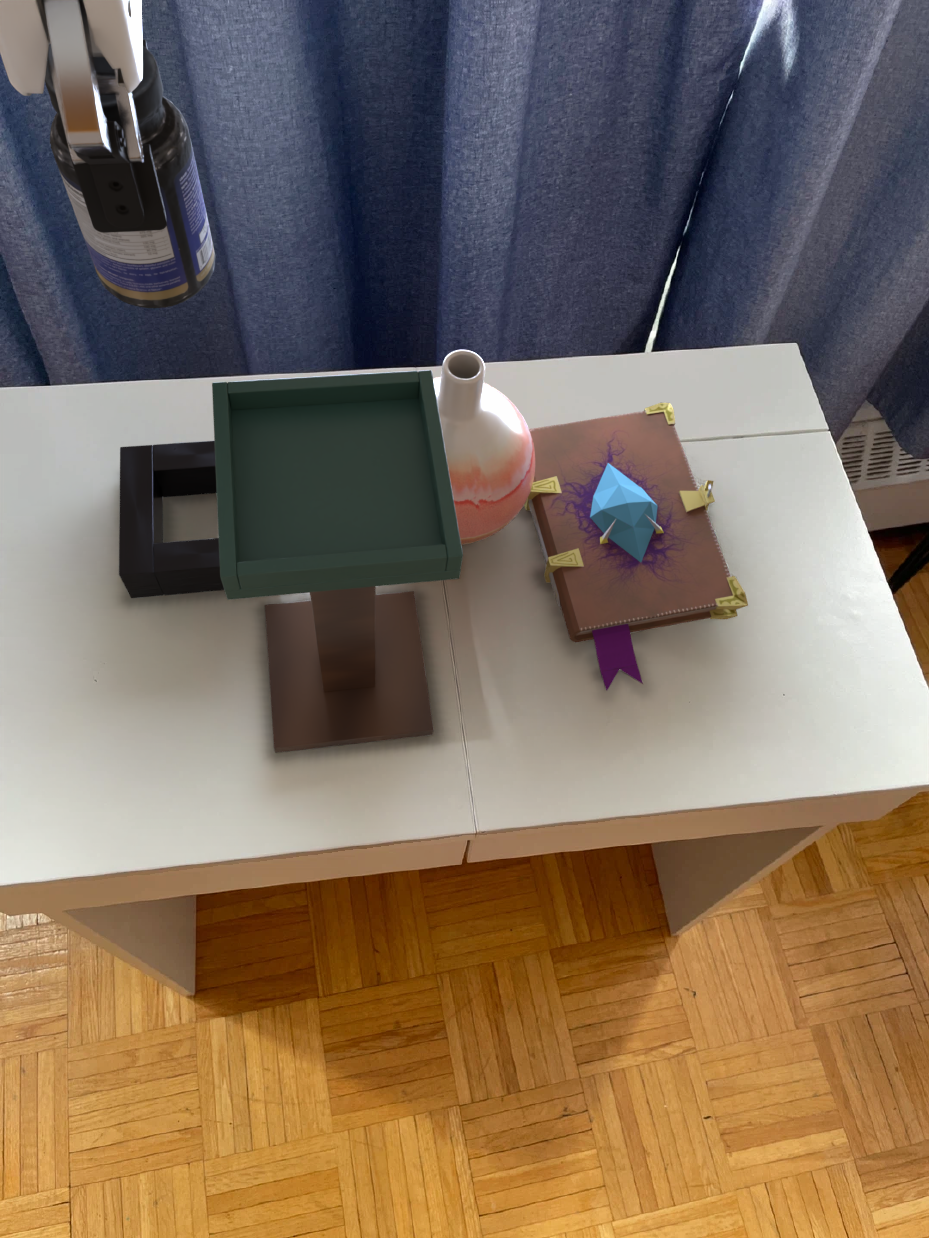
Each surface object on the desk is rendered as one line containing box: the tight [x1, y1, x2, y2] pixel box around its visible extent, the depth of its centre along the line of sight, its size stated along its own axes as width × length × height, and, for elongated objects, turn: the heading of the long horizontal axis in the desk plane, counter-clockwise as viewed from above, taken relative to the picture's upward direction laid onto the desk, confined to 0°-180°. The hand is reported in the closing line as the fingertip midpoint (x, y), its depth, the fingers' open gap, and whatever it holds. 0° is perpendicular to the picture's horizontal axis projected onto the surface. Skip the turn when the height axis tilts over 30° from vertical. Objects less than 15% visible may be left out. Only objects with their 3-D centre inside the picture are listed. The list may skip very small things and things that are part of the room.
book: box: [523, 402, 749, 692], centre depth 79 cm, size 16×25×5 cm, turn 12°
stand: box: [264, 586, 434, 754], centre depth 62 cm, size 12×12×26 cm
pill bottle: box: [44, 45, 216, 309], centre depth 44 cm, size 6×6×11 cm
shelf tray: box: [211, 369, 464, 601], centre depth 50 cm, size 12×12×2 cm
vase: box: [433, 349, 535, 546], centre depth 74 cm, size 14×14×18 cm
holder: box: [118, 440, 225, 599], centre depth 77 cm, size 12×12×4 cm
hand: (129, 171), depth 44 cm, fingers closed on pill bottle, 6 cm apart
